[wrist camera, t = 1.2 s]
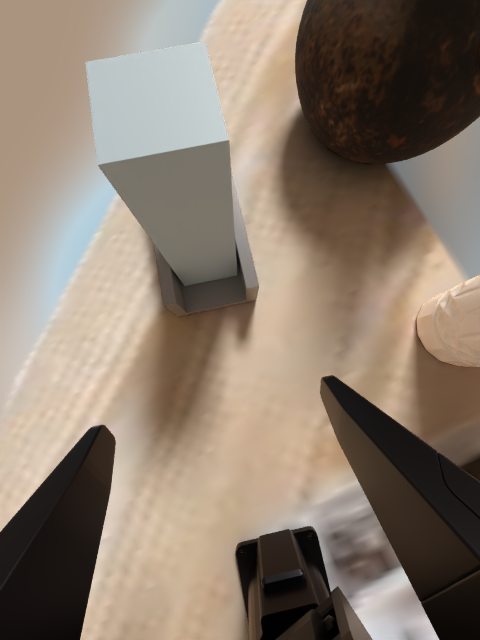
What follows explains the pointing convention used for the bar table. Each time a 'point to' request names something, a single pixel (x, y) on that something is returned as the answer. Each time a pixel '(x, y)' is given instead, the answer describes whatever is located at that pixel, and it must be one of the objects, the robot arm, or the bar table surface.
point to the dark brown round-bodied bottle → (388, 74)
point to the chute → (216, 291)
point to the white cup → (453, 324)
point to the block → (168, 154)
